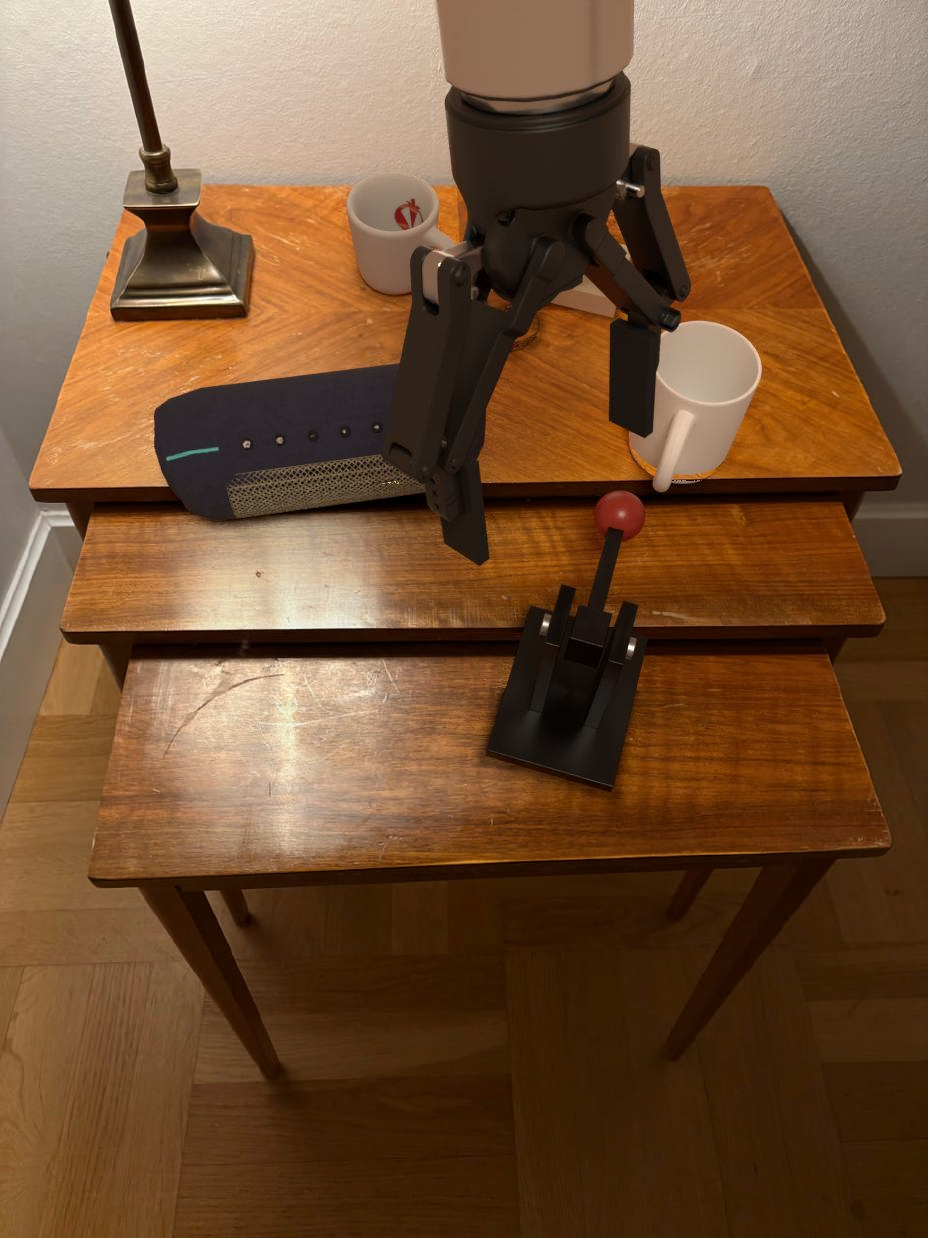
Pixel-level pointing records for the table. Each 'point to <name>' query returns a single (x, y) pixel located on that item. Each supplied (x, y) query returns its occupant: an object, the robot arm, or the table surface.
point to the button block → (588, 297)
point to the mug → (697, 400)
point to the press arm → (604, 575)
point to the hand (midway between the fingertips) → (552, 486)
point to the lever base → (568, 698)
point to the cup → (392, 227)
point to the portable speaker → (283, 443)
